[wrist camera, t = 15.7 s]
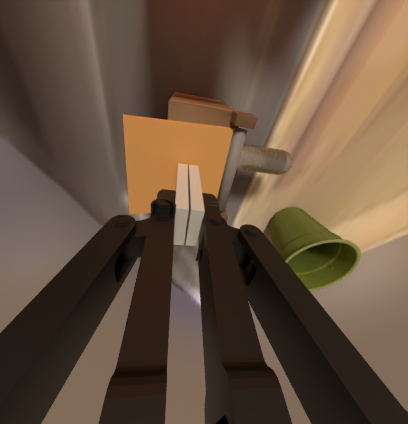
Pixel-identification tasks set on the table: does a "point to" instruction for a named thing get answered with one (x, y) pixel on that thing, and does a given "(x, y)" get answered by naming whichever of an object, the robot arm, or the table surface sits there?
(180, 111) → the hitch block
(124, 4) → the table surface
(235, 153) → the plate
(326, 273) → the plant pot
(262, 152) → the pin
